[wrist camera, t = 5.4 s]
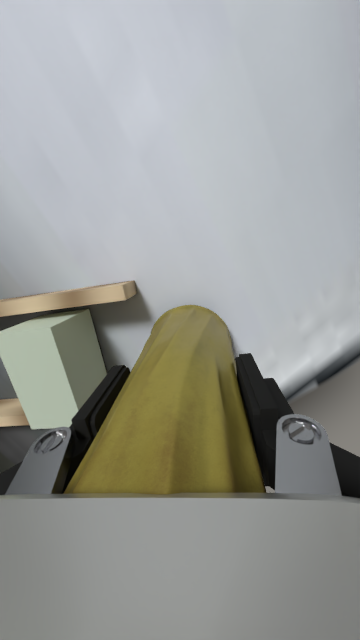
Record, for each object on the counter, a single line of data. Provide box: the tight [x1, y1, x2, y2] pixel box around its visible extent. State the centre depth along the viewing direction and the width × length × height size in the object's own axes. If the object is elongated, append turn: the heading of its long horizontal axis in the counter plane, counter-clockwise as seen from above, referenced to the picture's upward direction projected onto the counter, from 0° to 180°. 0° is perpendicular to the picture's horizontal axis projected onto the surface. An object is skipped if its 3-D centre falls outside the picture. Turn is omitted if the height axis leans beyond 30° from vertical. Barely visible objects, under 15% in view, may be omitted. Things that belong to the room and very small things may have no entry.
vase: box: [63, 305, 266, 495], centre depth 9 cm, size 6×6×14 cm
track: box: [0, 281, 137, 427], centre depth 17 cm, size 20×10×3 cm, turn 99°
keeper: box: [0, 309, 107, 429], centre depth 16 cm, size 4×7×4 cm, turn 9°
